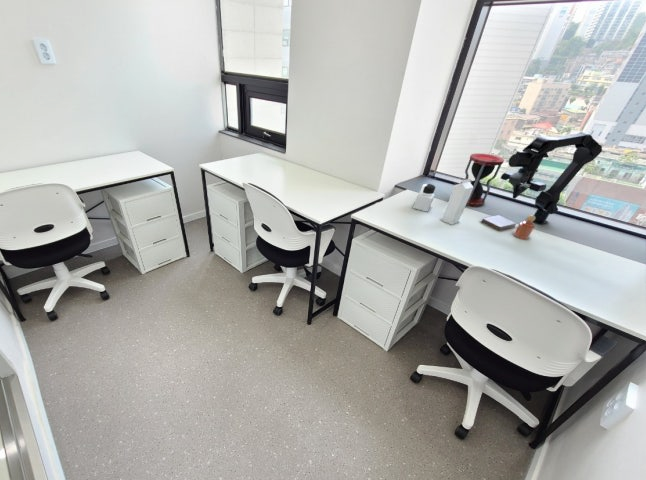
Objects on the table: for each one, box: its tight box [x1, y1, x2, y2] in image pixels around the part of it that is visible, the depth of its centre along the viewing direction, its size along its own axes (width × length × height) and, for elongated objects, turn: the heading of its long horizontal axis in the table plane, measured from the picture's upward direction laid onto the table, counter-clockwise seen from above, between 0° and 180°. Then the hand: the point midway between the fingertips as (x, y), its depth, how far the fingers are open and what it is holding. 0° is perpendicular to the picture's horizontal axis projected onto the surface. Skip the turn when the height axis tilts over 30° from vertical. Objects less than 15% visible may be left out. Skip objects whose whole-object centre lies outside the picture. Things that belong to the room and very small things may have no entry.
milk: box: [441, 178, 473, 225], centre depth 154 cm, size 6×6×22 cm
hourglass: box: [459, 153, 505, 207], centre depth 175 cm, size 16×16×25 cm
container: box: [412, 183, 436, 212], centre depth 169 cm, size 8×8×13 cm
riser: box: [480, 214, 517, 232], centre depth 158 cm, size 12×10×2 cm
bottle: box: [513, 214, 535, 240], centre depth 148 cm, size 11×6×8 cm
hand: (513, 198), depth 154 cm, fingers closed
